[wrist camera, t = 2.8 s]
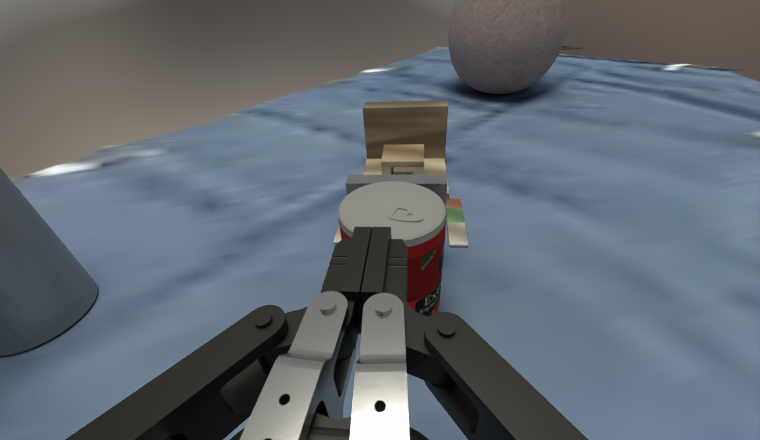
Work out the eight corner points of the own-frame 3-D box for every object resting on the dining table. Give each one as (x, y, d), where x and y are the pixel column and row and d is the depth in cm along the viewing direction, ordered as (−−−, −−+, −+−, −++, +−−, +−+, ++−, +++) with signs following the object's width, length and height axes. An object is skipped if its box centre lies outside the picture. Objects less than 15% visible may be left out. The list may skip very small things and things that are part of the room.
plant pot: (427, 85, 86) (432, -69, 68) (506, 72, 92) (530, -73, 74) (482, 115, 68) (508, -85, 50) (576, 95, 74) (630, -89, 56)
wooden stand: (468, 247, 37) (477, 174, 31) (333, 244, 38) (321, 175, 33) (452, 156, 54) (457, 100, 48) (360, 157, 55) (355, 102, 50)
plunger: (442, 252, 34) (447, 183, 29) (354, 250, 35) (345, 183, 30) (437, 188, 44) (440, 128, 39) (369, 188, 45) (363, 129, 40)
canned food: (436, 347, 27) (444, 246, 21) (342, 333, 29) (322, 235, 22) (441, 278, 33) (448, 182, 27) (363, 270, 35) (352, 177, 28)
